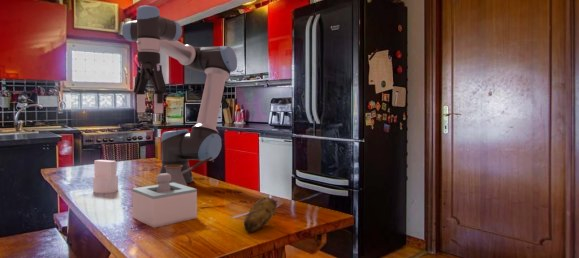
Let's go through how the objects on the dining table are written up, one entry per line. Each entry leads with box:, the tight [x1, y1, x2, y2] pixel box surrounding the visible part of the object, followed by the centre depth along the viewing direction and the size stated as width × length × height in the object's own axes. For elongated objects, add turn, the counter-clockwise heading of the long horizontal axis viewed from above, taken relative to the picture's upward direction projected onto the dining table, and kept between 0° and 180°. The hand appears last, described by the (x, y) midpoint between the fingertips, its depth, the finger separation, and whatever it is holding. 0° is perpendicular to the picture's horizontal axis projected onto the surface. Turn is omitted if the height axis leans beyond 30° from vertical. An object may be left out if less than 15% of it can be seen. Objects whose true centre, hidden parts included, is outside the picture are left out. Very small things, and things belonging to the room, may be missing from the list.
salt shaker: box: [156, 173, 171, 193], centre depth 121 cm, size 6×6×13 cm
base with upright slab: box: [92, 159, 119, 194], centre depth 157 cm, size 9×9×12 cm
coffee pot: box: [164, 157, 215, 186], centre depth 144 cm, size 21×12×15 cm, turn 127°
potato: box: [243, 197, 278, 233], centre depth 112 cm, size 8×13×8 cm, turn 136°
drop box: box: [131, 182, 198, 229], centre depth 121 cm, size 14×14×9 cm
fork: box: [232, 200, 284, 219], centre depth 128 cm, size 3×24×2 cm, turn 136°
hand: (149, 112), depth 139 cm, fingers open, 13 cm apart
